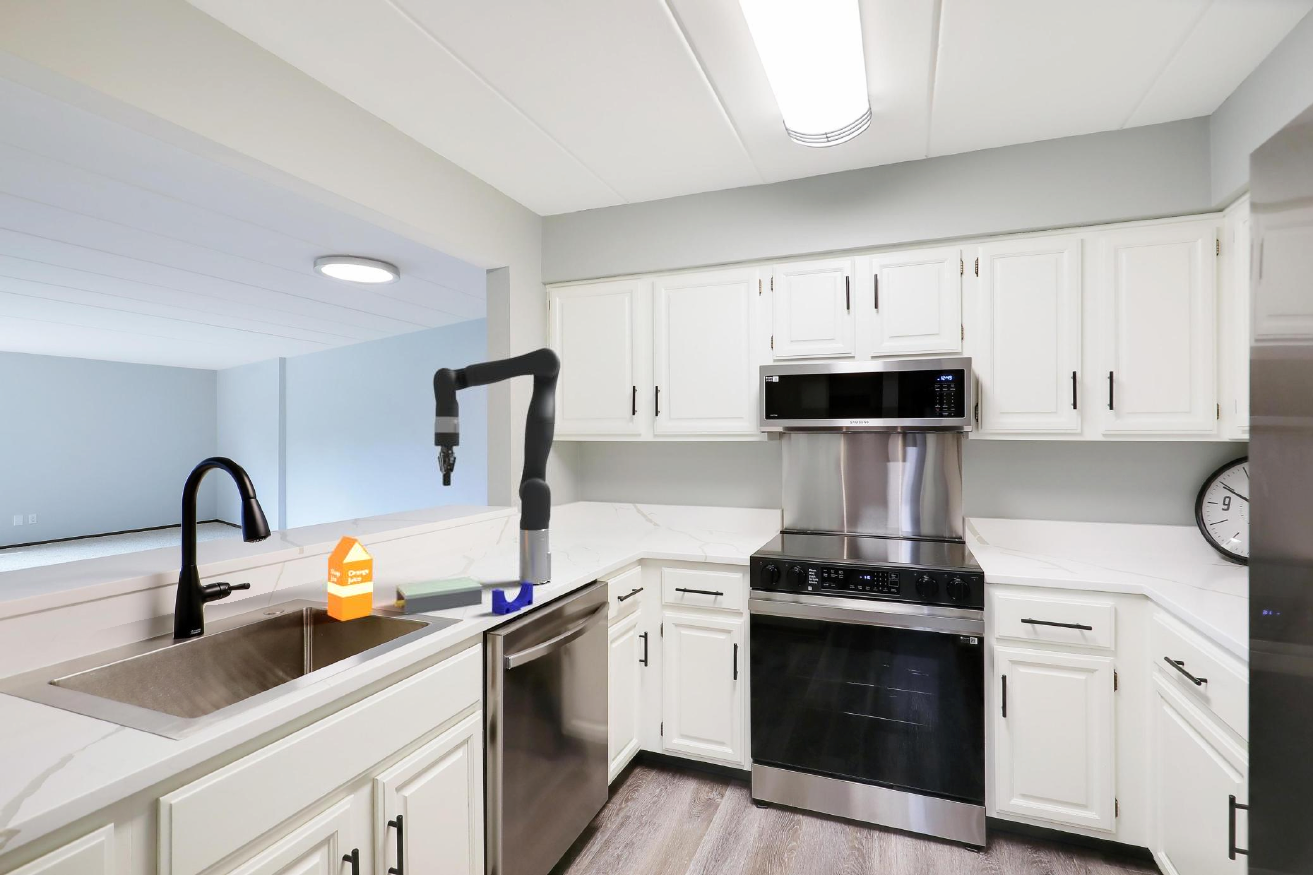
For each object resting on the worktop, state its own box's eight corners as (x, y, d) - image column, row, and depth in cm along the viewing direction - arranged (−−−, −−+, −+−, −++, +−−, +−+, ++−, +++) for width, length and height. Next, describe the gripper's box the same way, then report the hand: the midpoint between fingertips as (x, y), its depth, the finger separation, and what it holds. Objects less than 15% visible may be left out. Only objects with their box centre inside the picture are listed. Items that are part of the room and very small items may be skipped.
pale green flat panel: (469, 580, 176) (469, 576, 176) (482, 589, 166) (482, 585, 166) (396, 589, 165) (396, 585, 165) (405, 599, 155) (405, 595, 155)
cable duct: (472, 593, 177) (472, 580, 177) (485, 602, 167) (485, 588, 167) (389, 605, 164) (389, 590, 164) (397, 615, 154) (398, 600, 154)
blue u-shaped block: (503, 616, 156) (503, 592, 156) (491, 613, 158) (492, 590, 158) (536, 605, 166) (536, 584, 166) (525, 603, 168) (525, 581, 168)
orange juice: (357, 608, 161) (358, 534, 161) (372, 614, 156) (373, 537, 156) (326, 614, 155) (327, 537, 155) (341, 621, 150) (342, 541, 150)
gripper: (464, 431, 187) (464, 486, 187) (453, 431, 198) (452, 484, 198) (440, 431, 183) (439, 487, 183) (429, 431, 194) (429, 484, 194)
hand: (446, 485), depth 191 cm, fingers closed
